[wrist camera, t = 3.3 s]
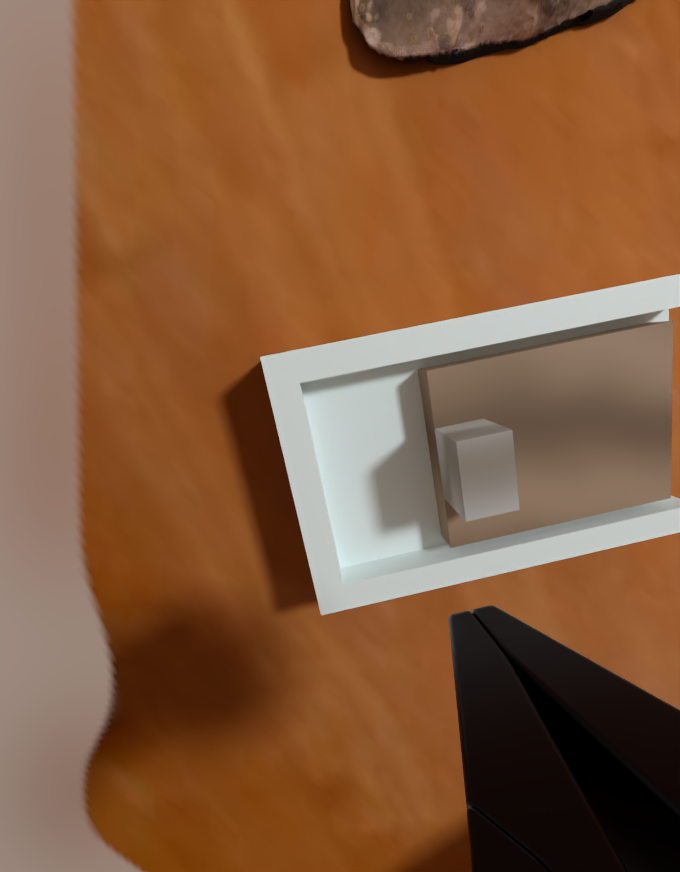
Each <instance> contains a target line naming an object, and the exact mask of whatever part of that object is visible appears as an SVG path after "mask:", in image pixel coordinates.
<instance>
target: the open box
mask: <svg viewBox="0 0 680 872" xmlns="http://www.w3.org/2000/svg"><path fill="white" fill-rule="evenodd" d="M675 307H680V274H677V275H672V276H667V277H662V278H657V279H652V280H647V281H642V282H637V283H632V284H627V285H622V286H617V287H612V288H607V289H601V290H596V291H591V292H586V293H581V294H576V295H571V296H566V297H561V298H556V299H551V300H546V301H541V302H536V303H531V304H526V305H521V306H515V307H510V308H505V309H500V310H495V311H490V312H485V313H480V314H475V315H470V316H465V317H460V318H455V319H450V320H445V321H440V322H435V323H429V324H424V325H419V326H414V327H409V328H404V329H399V330H394V331H389V332H384V333H379V334H374V335H369V336H364V337H359V338H354V339H349V340H343V341H338V342H333V343H328V344H323V345H318V346H313V347H308V348H303V349H298V350H293V351H288V352H283V353H278V354H273V355H268V356H263V357H260V359H261V363H262V368H263V372H264V376H265V380H266V385H267V389H268V393H269V397H270V401H271V406H272V410H273V414H274V418H275V423H276V427H277V431H278V435H279V440H280V444H281V448H282V452H283V456H284V461H285V465H286V469H287V473H288V478H289V482H290V486H291V490H292V495H293V499H294V503H295V507H296V512H297V516H298V520H299V524H300V528H301V533H302V537H303V541H304V545H305V550H306V554H307V558H308V562H309V567H310V571H311V575H312V579H313V583H314V588H315V592H316V596H317V600H318V605H319V609H320V613H321V615H325V614H329V613H334V612H338V611H342V610H347V609H351V608H355V607H360V606H364V605H368V604H373V603H377V602H381V601H386V600H390V599H394V598H398V597H403V596H407V595H411V594H416V593H420V592H424V591H429V590H433V589H437V588H442V587H446V586H450V585H455V584H459V583H463V582H467V581H472V580H476V579H480V578H485V577H489V576H493V575H498V574H502V573H506V572H511V571H515V570H519V569H523V568H528V567H532V566H536V565H541V564H545V563H549V562H554V561H558V560H562V559H567V558H571V557H575V556H580V555H584V554H588V553H592V552H597V551H601V550H605V549H610V548H614V547H618V546H623V545H627V544H631V543H636V542H640V541H644V540H649V539H653V538H657V537H661V536H666V535H670V534H674V533H679V532H680V499H679V498H676V497H674V496H671V498H669V499H665V500H661V501H656V502H652V503H647V504H643V505H638V506H634V507H630V508H625V509H621V510H616V511H612V512H608V513H603V514H599V515H594V516H590V517H586V518H581V519H577V520H572V521H568V522H564V523H559V524H555V525H550V526H546V527H542V528H537V529H533V530H528V531H524V532H520V533H515V534H511V535H506V536H502V537H498V538H493V539H489V540H484V541H480V542H476V543H471V544H467V545H462V546H458V547H454V548H451V547H450V546H449V545H448V543H447V542H446V541H445V539H444V538H443V537H442V535H441V530H440V523H439V516H438V509H437V502H436V495H435V488H434V481H433V474H432V467H431V460H430V453H429V446H428V439H427V432H426V425H425V418H424V411H423V404H422V397H421V390H420V383H419V376H418V369H421V368H426V367H431V366H436V365H441V364H446V363H451V362H456V361H461V360H466V359H471V358H476V357H480V356H485V355H490V354H495V353H500V352H505V351H510V350H515V349H520V348H525V347H530V346H535V345H539V344H544V343H549V342H554V341H559V340H564V339H569V338H574V337H579V336H584V335H589V334H594V333H599V332H603V331H608V330H613V329H618V328H623V327H628V326H633V325H638V324H643V323H650V322H663V321H669V309H670V308H675Z"/></svg>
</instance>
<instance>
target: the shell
mask: <svg viewBox="0 0 680 872" xmlns="http://www.w3.org/2000/svg"><path fill="white" fill-rule="evenodd" d="M349 1H350V6H351V11H352V22H353V23H354V24H355V25H356V26H357V28H358V29H359V30H360V32H361V33H362V35H363V37H364V39H365V42H366V43H367V44H368V46H369V47H370V48H372V49H374V50H376V51H377V52H378V53H379V54H380V55H383V54H384V55H386V56H387V57H390V58H392V57H394V58H396V59H398V60H402V61H403V62H414V61H416V60H418V59H420V58H421V57H426V58H427V60H428V61H429V62H430V63H433V64H437V65H443V64H454V63H460V62H464V61H467V60H470V59H473V58H476V57H479V56H483V55H487V54H491V53H495V52H499V51H503V50H507V49H517V48H522V47H525V46H528V45H531V44H533V43H534V42H536V41H538V40H541V39H543V38H546V37H548V36H550V35H553V34H555V33H557V32H560V31H562V30H565V29H567V28H570V27H575V26H583V25H587V24H590V23H593V22H596V21H598V20H601V19H604V18H606V17H608V16H610V15H612V14H614V13H616V12H617V11H619V10H620V9H622V8H623V7H624V6H626V5H627V4H628V3H630V2H631V1H632V0H349ZM588 10H592V11H593V15H592V16H591V17H590V18H589V19H587V20H586V21H584V22H580V20H581V19H582V17H583V15H584V14H585V13H586V12H587V11H588Z"/></svg>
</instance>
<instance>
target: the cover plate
mask: <svg viewBox="0 0 680 872" xmlns="http://www.w3.org/2000/svg"><path fill="white" fill-rule="evenodd" d="M672 345H673V321H663V322H650V323H643V324H638V325H633V326H628V327H623V328H618V329H613V330H608V331H603V332H599V333H594V334H589V335H584V336H579V337H574V338H569V339H564V340H559V341H554V342H549V343H544V344H539V345H535V346H530V347H525V348H520V349H515V350H510V351H505V352H500V353H495V354H490V355H485V356H480V357H476V358H471V359H466V360H461V361H456V362H451V363H446V364H441V365H436V366H431V367H426V368H421V369H418V376H419V383H420V390H421V397H422V404H423V411H424V418H425V425H426V432H427V439H428V446H429V453H430V460H431V467H432V474H433V481H434V488H435V495H436V502H437V509H438V516H439V523H440V530H441V535H442V537H443V538H444V539H445V541H446V542H447V543H448V545H449V546H450V547H451V548H454V547H458V546H462V545H467V544H471V543H476V542H480V541H484V540H489V539H493V538H498V537H502V536H506V535H511V534H515V533H520V532H524V531H528V530H533V529H537V528H542V527H546V526H550V525H555V524H559V523H564V522H568V521H572V520H577V519H581V518H586V517H590V516H594V515H599V514H603V513H608V512H612V511H616V510H621V509H625V508H630V507H634V506H638V505H643V504H647V503H652V502H656V501H661V500H665V499H669V498H671V437H672Z"/></svg>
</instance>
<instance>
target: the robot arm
mask: <svg viewBox="0 0 680 872" xmlns="http://www.w3.org/2000/svg"><path fill="white" fill-rule="evenodd" d="M449 627H450V637H451V648H452V658H453V669H454V679H455V690H456V700H457V711H458V721H459V732H460V742H461V753H462V763H463V774H464V784H465V795H466V804H467V819H468V830H469V840H470V853H471V868H472V872H680V710H678V709H677V708H675V707H673V706H671V705H670V704H668V703H666V702H664V701H662V700H661V699H659V698H657V697H655V696H653V695H652V694H650V693H648V692H646V691H645V690H643V689H641V688H639V687H637V686H636V685H634V684H632V683H630V682H629V681H627V680H625V679H623V678H621V677H620V676H618V675H616V674H614V673H613V672H611V671H609V670H607V669H605V668H604V667H602V666H600V665H598V664H597V663H595V662H593V661H591V660H589V659H588V658H586V657H584V656H582V655H581V654H579V653H577V652H575V651H573V650H572V649H570V648H568V647H566V646H564V645H563V644H561V643H559V642H557V641H556V640H554V639H552V638H550V637H548V636H547V635H545V634H543V633H541V632H540V631H538V630H536V629H534V628H532V627H531V626H529V625H527V624H525V623H524V622H522V621H520V620H518V619H516V618H515V617H513V616H511V615H509V614H508V613H506V612H504V611H502V610H500V609H499V608H497V607H495V606H485V607H481V608H477V609H473V610H472V612H469V611H464V612H460V613H455V614H451V615H450V616H449Z"/></svg>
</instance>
